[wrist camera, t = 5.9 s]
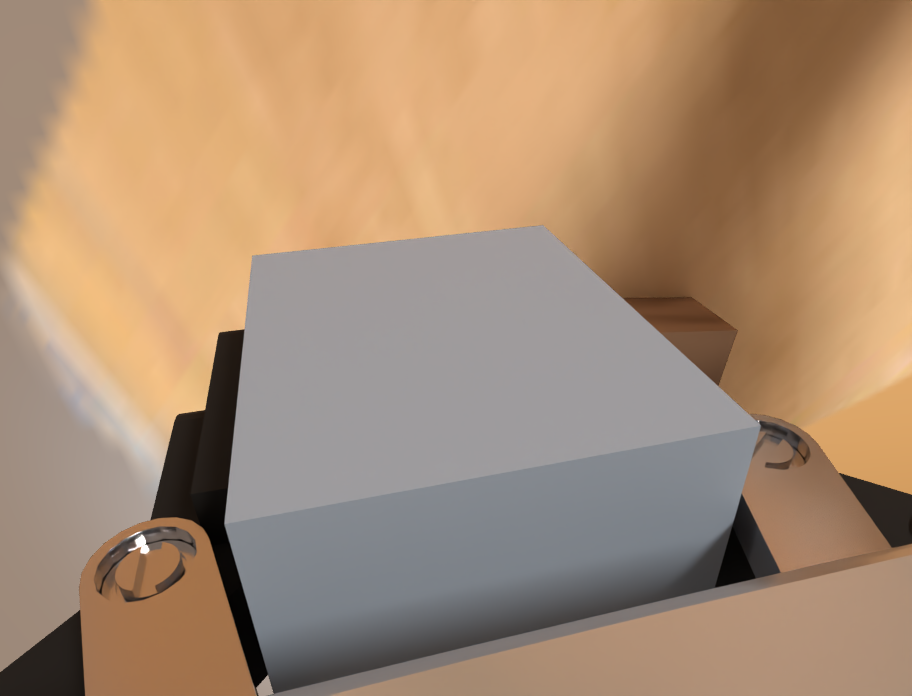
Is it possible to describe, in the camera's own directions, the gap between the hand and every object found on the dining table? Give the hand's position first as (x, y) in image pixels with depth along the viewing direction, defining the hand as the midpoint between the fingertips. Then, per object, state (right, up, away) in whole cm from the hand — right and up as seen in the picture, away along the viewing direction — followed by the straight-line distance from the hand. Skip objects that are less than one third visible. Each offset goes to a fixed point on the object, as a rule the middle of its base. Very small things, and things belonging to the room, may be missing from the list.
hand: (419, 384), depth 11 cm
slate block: (0, 0, +1) cm, 1 cm away
